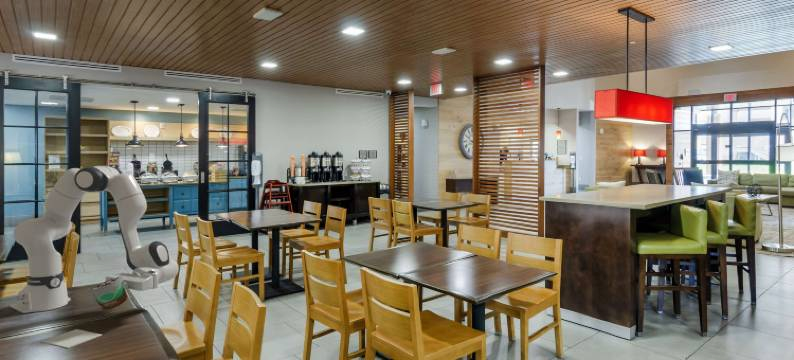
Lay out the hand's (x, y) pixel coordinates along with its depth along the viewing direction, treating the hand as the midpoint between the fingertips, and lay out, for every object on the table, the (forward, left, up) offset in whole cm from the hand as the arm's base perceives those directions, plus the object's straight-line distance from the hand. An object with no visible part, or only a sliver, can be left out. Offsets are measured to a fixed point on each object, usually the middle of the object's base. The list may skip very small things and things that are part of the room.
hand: (110, 286), depth 177 cm
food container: (+2, 0, -7) cm, 8 cm away
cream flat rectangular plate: (0, -15, -15) cm, 21 cm away
